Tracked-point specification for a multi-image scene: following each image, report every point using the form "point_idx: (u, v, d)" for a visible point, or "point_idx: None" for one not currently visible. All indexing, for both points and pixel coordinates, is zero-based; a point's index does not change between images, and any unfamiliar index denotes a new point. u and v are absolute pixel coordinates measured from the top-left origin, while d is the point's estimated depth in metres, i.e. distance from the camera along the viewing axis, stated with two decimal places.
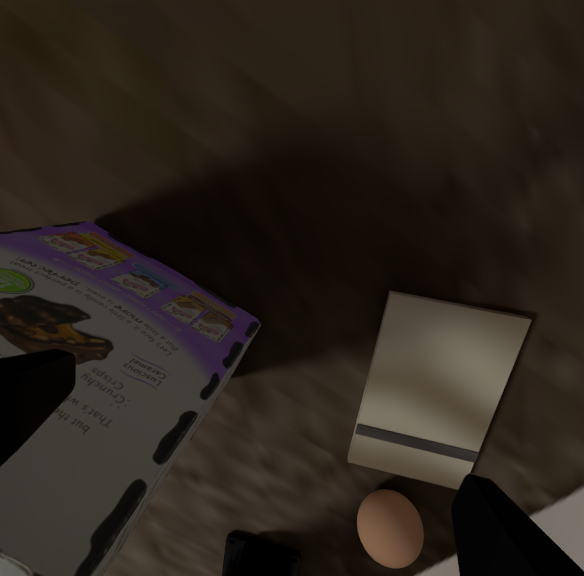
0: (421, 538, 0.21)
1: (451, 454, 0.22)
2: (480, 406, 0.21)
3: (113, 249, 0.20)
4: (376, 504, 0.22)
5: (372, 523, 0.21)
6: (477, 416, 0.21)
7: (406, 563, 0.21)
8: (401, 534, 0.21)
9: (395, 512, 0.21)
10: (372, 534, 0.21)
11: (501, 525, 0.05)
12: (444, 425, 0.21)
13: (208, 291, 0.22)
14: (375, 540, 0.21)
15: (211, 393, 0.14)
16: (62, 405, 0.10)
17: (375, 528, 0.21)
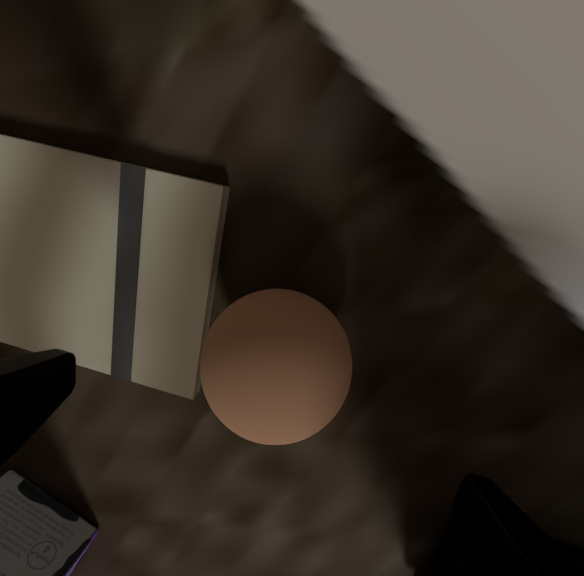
0: (248, 313, 0.08)
1: (138, 216, 0.11)
2: (29, 170, 0.11)
3: None
4: None
5: None
6: (50, 173, 0.11)
7: (275, 374, 0.07)
8: (208, 368, 0.08)
9: (201, 359, 0.09)
10: None
11: (501, 525, 0.05)
12: (81, 231, 0.11)
13: None
14: (231, 429, 0.08)
15: None
16: None
17: None
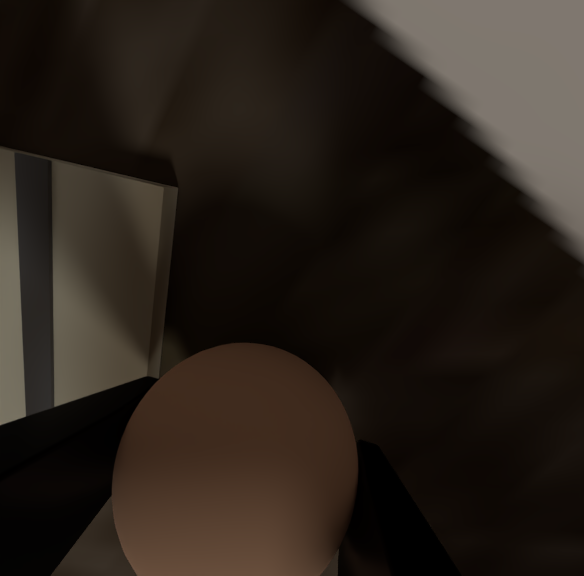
0: (183, 401, 0.05)
1: (47, 230, 0.07)
2: None
3: None
4: None
5: None
6: None
7: (220, 529, 0.04)
8: (115, 495, 0.05)
9: None
10: None
11: (365, 482, 0.06)
12: None
13: None
14: None
15: None
16: None
17: None
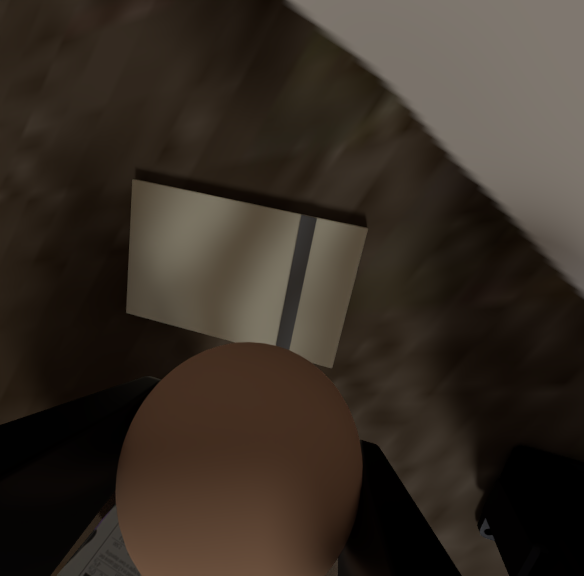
0: (188, 400, 0.05)
1: (308, 247, 0.17)
2: (236, 218, 0.17)
3: None
4: None
5: None
6: (250, 221, 0.17)
7: (226, 529, 0.04)
8: (119, 494, 0.05)
9: None
10: None
11: (365, 482, 0.06)
12: (266, 257, 0.18)
13: None
14: None
15: (77, 551, 0.14)
16: None
17: None
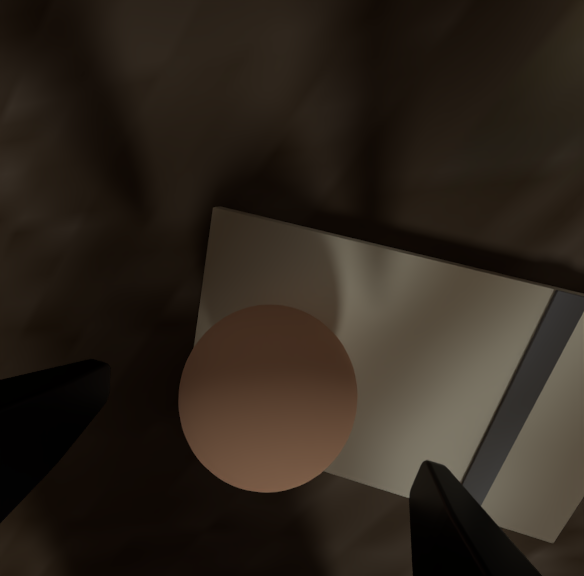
0: (234, 337, 0.07)
1: (555, 347, 0.09)
2: (415, 289, 0.09)
3: None
4: None
5: None
6: (443, 294, 0.09)
7: (265, 414, 0.06)
8: (186, 403, 0.07)
9: None
10: (211, 471, 0.07)
11: (447, 508, 0.05)
12: (464, 359, 0.10)
13: None
14: (214, 474, 0.07)
15: None
16: None
17: None
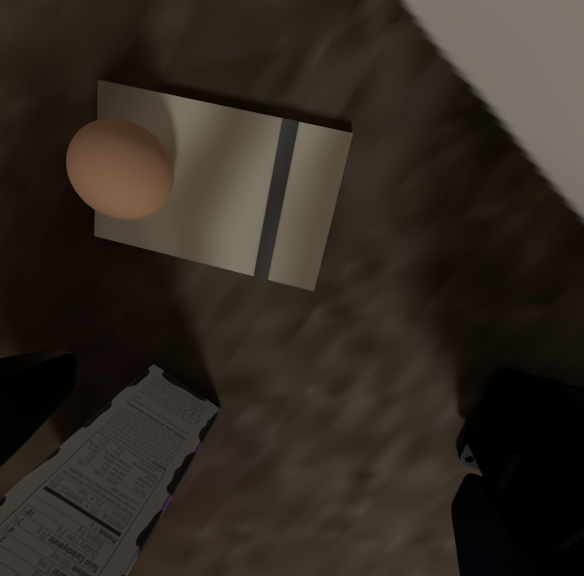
0: (91, 123, 0.14)
1: (289, 155, 0.16)
2: (213, 124, 0.16)
3: None
4: None
5: (82, 199, 0.15)
6: (228, 127, 0.16)
7: (99, 147, 0.13)
8: (66, 155, 0.14)
9: None
10: (85, 200, 0.14)
11: (501, 525, 0.05)
12: (245, 168, 0.16)
13: None
14: (84, 196, 0.14)
15: (37, 466, 0.13)
16: None
17: (79, 195, 0.14)
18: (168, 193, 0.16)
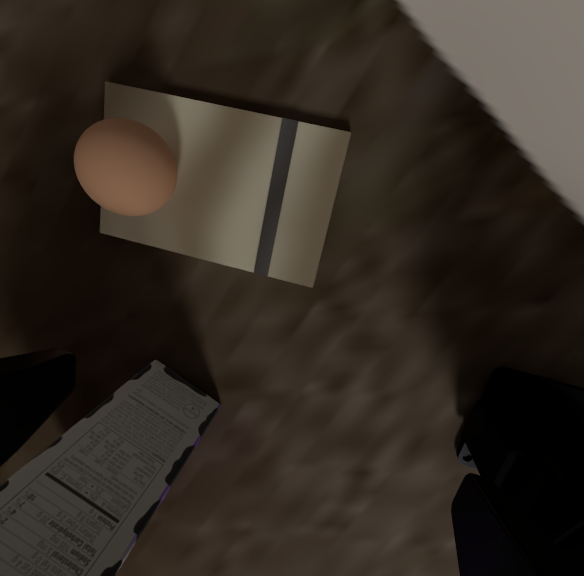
0: (98, 122, 0.14)
1: (289, 154, 0.16)
2: (215, 124, 0.17)
3: None
4: None
5: (89, 195, 0.15)
6: (229, 126, 0.17)
7: (106, 145, 0.14)
8: (74, 153, 0.14)
9: None
10: (92, 196, 0.15)
11: (501, 525, 0.05)
12: (246, 166, 0.17)
13: None
14: (91, 192, 0.14)
15: (40, 453, 0.14)
16: None
17: (86, 192, 0.15)
18: (172, 190, 0.16)
